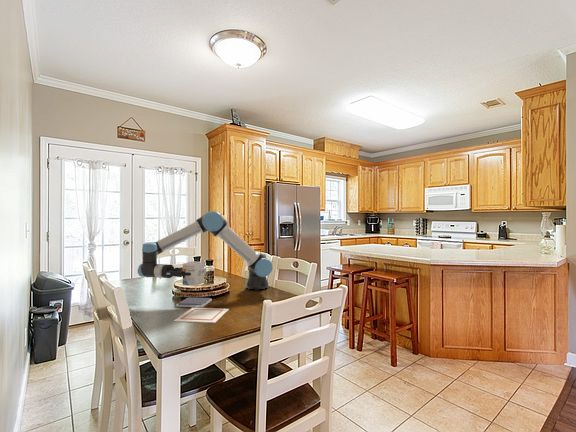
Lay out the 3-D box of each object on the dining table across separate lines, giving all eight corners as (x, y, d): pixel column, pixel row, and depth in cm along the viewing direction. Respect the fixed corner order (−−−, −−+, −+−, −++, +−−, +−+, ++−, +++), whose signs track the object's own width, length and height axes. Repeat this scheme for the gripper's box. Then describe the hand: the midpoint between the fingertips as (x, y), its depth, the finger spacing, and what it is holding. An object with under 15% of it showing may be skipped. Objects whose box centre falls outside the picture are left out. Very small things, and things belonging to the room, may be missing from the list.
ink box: (181, 285, 165) (181, 263, 165) (191, 281, 173) (191, 261, 173) (195, 286, 162) (195, 264, 162) (204, 282, 170) (204, 261, 170)
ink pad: (211, 300, 176) (211, 297, 176) (202, 307, 163) (202, 304, 163) (187, 299, 178) (187, 296, 178) (175, 306, 164) (175, 303, 164)
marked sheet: (228, 309, 159) (228, 308, 159) (215, 322, 139) (215, 321, 139) (192, 308, 161) (192, 307, 161) (173, 321, 141) (173, 320, 141)
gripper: (175, 274, 182) (210, 275, 177) (152, 281, 161) (190, 283, 156) (175, 261, 182) (210, 262, 177) (152, 267, 161) (190, 269, 156)
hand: (201, 272), depth 166 cm, fingers closed on ink box, 9 cm apart
